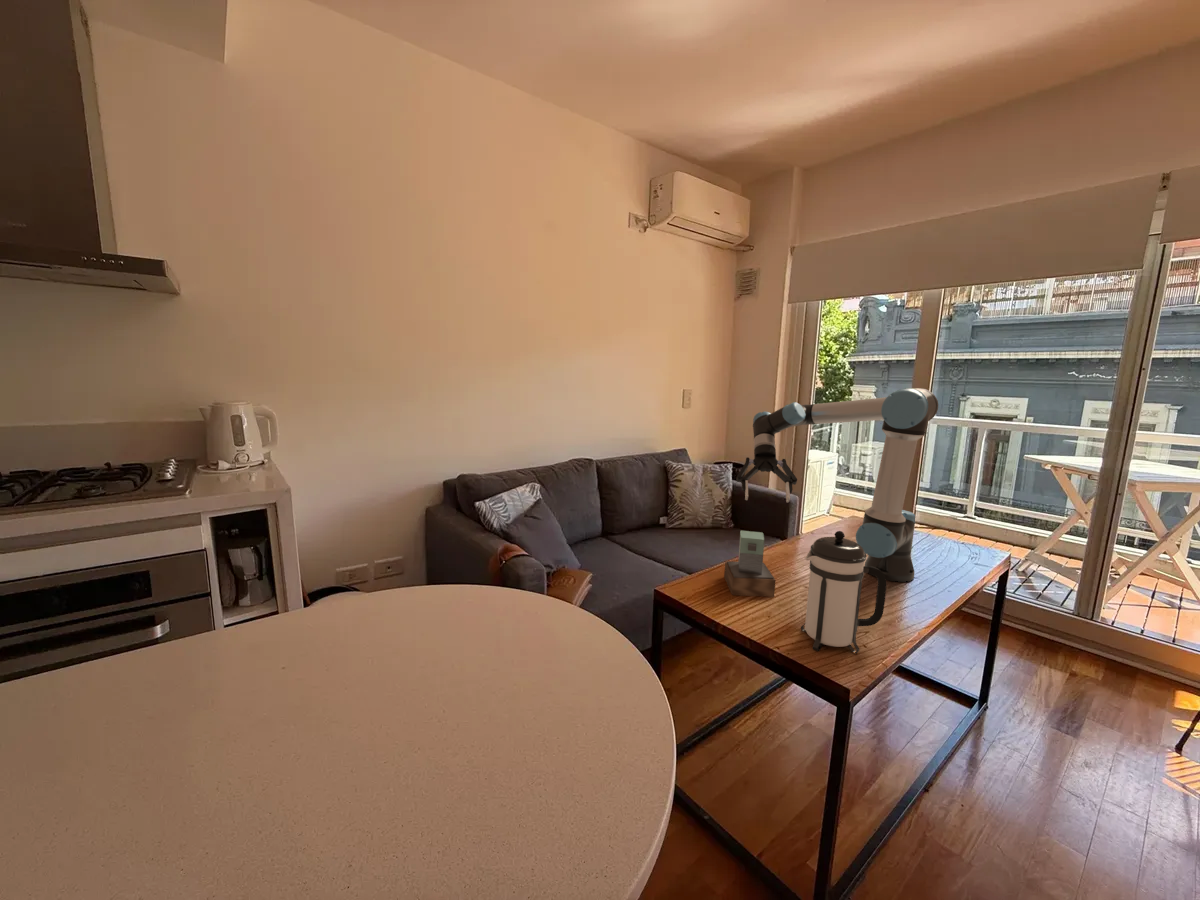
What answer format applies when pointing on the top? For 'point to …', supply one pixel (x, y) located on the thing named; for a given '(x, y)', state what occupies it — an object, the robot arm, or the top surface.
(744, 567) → the base
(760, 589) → the walnut stand
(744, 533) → the lid
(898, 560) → the robot arm
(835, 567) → the coffee press
